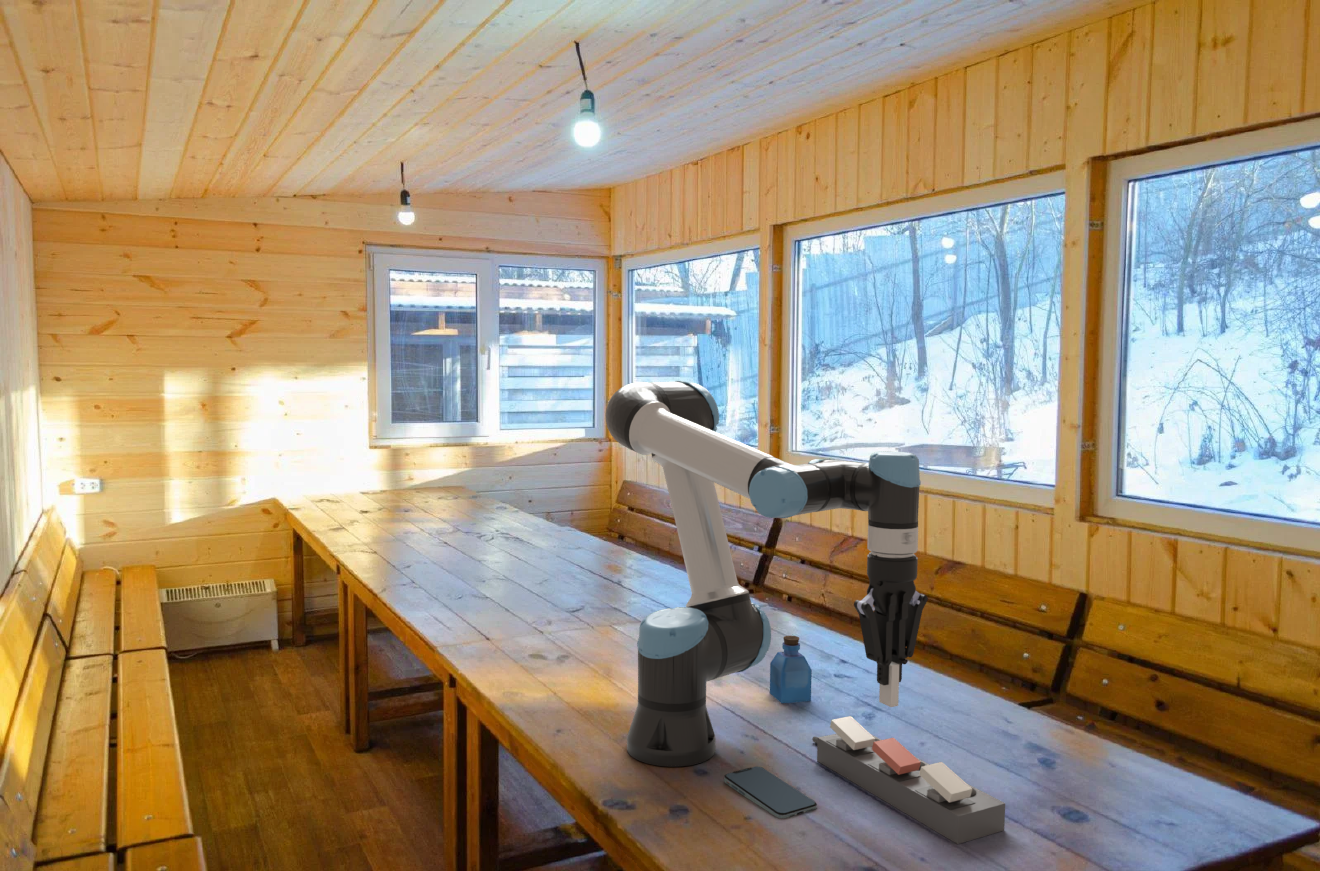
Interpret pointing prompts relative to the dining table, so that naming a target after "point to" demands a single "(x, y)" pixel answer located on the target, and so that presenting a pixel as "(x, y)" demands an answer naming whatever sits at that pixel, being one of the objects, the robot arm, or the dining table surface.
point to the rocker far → (852, 732)
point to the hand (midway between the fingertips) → (888, 703)
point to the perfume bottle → (790, 673)
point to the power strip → (913, 792)
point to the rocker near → (945, 782)
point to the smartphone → (769, 792)
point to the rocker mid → (896, 756)
